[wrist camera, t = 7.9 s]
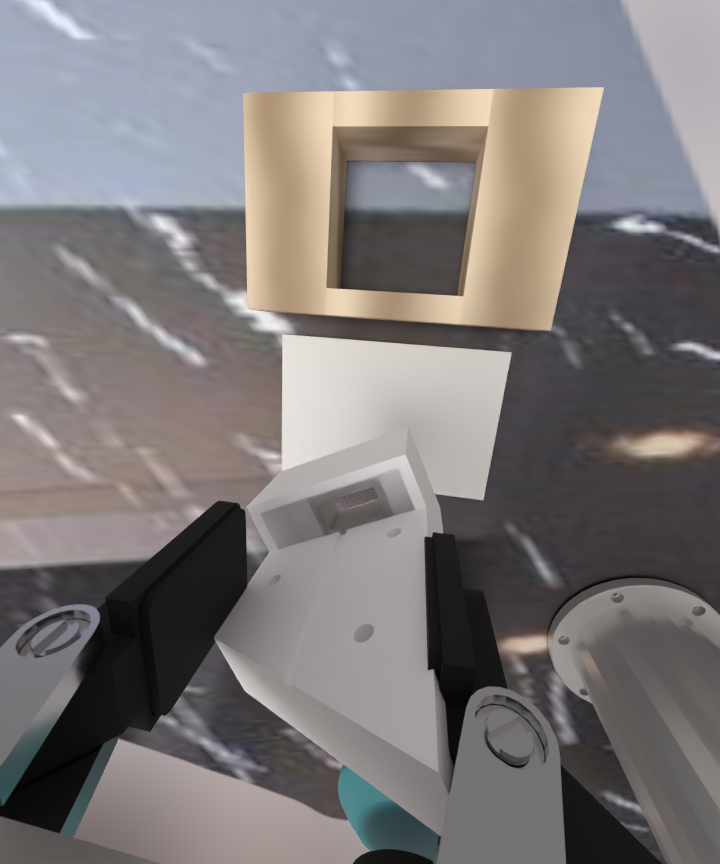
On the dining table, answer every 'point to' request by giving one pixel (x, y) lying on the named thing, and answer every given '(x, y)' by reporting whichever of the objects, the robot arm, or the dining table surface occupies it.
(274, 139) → the block
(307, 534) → the white angled block
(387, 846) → the beverage bottle
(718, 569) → the dining table surface
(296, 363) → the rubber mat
